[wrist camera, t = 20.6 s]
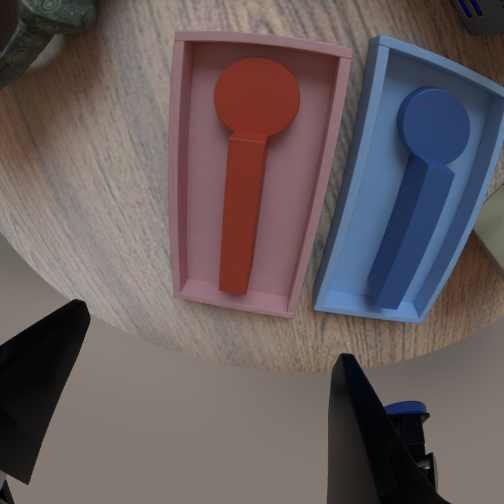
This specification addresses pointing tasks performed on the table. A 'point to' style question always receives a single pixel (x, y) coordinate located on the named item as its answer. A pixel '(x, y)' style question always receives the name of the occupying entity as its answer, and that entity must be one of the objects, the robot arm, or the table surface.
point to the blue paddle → (418, 188)
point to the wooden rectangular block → (492, 230)
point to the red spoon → (249, 154)
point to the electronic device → (481, 15)
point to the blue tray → (390, 177)
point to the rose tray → (276, 173)
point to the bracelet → (42, 31)
